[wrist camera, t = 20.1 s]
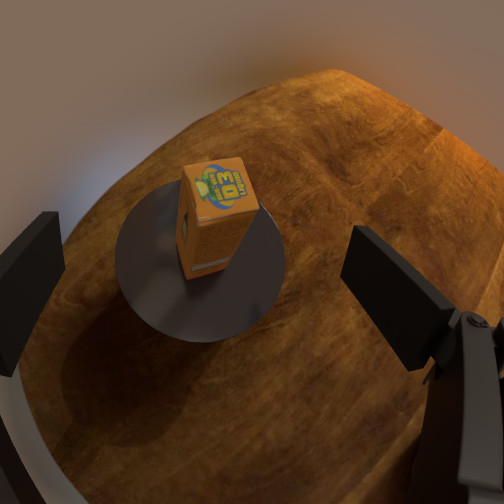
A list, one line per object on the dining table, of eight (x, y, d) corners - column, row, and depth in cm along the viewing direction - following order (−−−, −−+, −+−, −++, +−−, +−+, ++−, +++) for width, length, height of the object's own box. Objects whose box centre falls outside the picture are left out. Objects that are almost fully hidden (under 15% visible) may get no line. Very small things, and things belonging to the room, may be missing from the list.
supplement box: (231, 269, 24) (264, 212, 15) (186, 281, 23) (190, 229, 14) (218, 228, 25) (242, 153, 15) (174, 239, 24) (173, 165, 14)
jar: (171, 368, 30) (166, 375, 21) (113, 257, 32) (90, 219, 23) (278, 307, 34) (315, 287, 25) (218, 206, 37) (232, 156, 27)
